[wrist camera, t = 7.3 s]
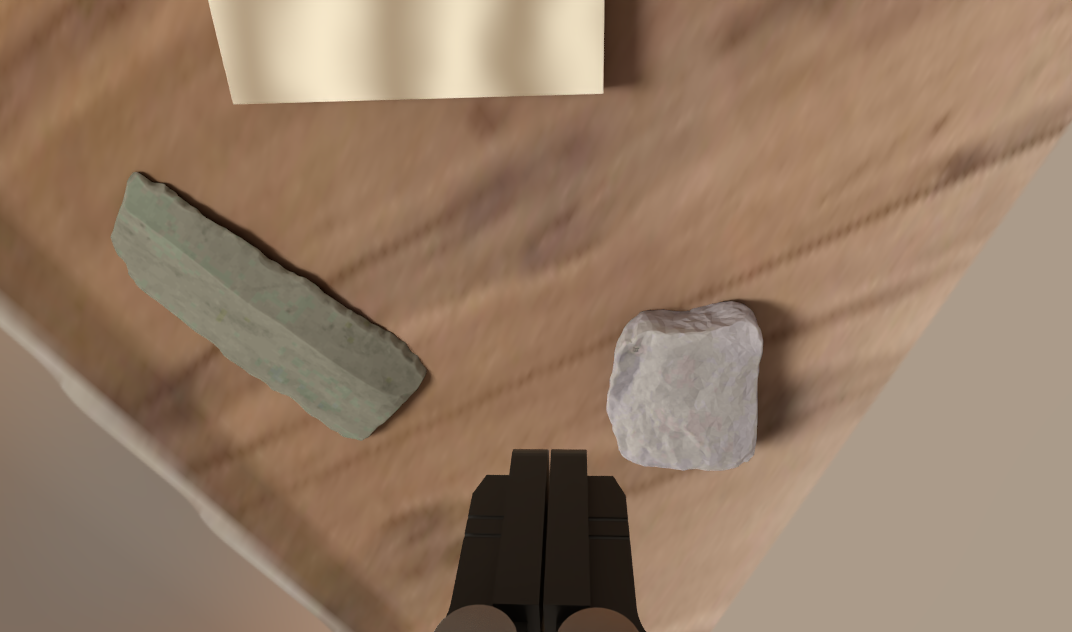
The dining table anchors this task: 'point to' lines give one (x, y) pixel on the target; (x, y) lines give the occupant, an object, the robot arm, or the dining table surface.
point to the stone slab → (263, 313)
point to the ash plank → (408, 48)
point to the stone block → (687, 387)
